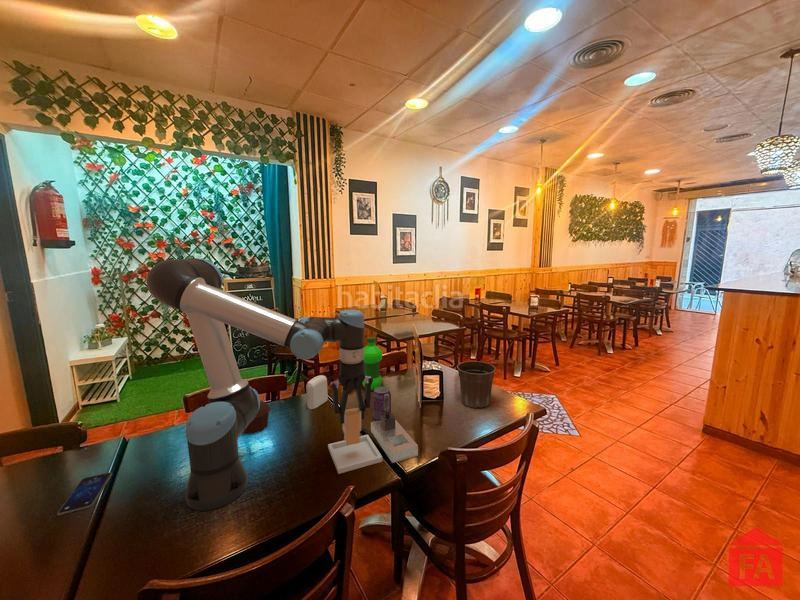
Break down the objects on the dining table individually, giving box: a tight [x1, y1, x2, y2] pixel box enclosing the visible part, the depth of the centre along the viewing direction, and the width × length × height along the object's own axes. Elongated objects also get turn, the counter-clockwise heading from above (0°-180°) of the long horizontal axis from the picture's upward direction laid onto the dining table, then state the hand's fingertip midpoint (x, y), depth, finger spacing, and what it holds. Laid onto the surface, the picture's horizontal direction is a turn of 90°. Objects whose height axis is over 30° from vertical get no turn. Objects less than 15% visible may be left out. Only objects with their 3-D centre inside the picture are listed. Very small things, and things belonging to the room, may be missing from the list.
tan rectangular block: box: [343, 407, 361, 446], centre depth 105 cm, size 4×4×10 cm
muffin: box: [243, 399, 271, 434], centre depth 124 cm, size 12×11×10 cm
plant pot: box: [456, 360, 497, 409], centre depth 143 cm, size 16×16×16 cm
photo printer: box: [305, 374, 329, 410], centre depth 142 cm, size 10×4×12 cm, turn 152°
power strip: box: [370, 409, 419, 464], centre depth 113 cm, size 9×20×10 cm, turn 24°
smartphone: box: [56, 471, 113, 517], centre depth 91 cm, size 7×1×15 cm
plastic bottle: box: [361, 336, 383, 391], centre depth 158 cm, size 10×10×25 cm
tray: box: [327, 434, 383, 475], centre depth 107 cm, size 14×14×2 cm
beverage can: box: [372, 385, 392, 421], centre depth 130 cm, size 7×7×12 cm
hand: (351, 430), depth 106 cm, fingers closed on tan rectangular block, 4 cm apart
